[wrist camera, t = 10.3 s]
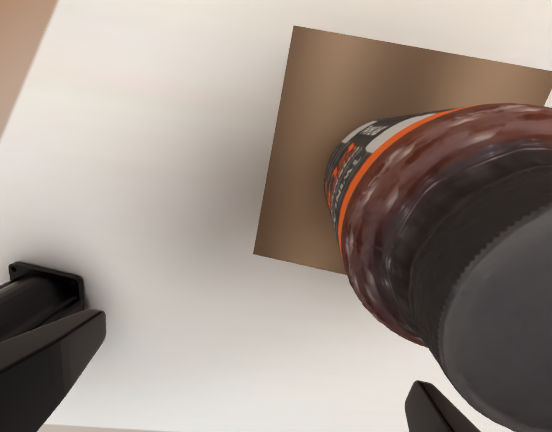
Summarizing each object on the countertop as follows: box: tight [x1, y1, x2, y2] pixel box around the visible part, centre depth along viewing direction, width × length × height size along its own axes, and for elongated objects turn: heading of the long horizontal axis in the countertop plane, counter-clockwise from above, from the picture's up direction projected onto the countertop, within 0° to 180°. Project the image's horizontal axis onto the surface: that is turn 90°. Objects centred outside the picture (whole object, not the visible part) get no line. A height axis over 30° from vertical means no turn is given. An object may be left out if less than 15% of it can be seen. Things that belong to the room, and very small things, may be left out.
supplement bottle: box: [324, 103, 552, 432], centre depth 9 cm, size 6×6×11 cm
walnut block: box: [253, 26, 552, 275], centre depth 16 cm, size 12×12×4 cm
